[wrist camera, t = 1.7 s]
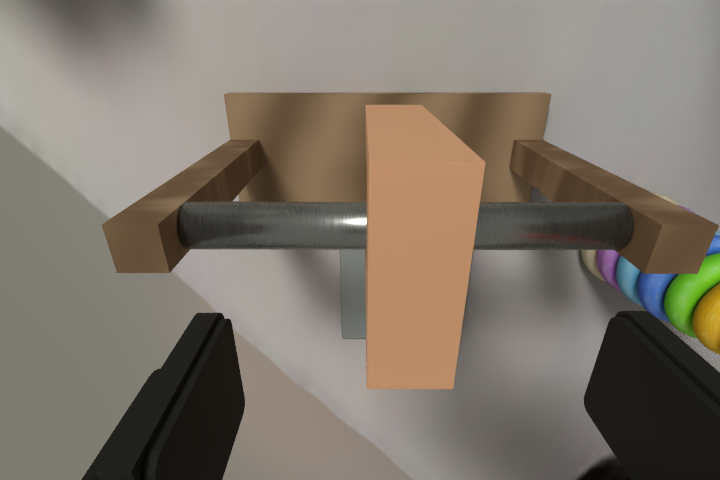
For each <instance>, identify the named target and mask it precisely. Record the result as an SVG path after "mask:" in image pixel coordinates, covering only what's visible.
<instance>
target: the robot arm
mask: <svg viewBox="0 0 720 480" xmlns="http://www.w3.org/2000/svg"><path fill="white" fill-rule="evenodd" d="M584 405H585V408H586V411H587V413H588V414H589V416H590V417H591V419H592V420H593V422H594V424H595V425H596V427H597V428H598V430H599V431H600V433H601V434H602V436H603V437H604V439H605V440H606V442H607V444H608V445H609V447H610V448H611V450H612V451H613V453H614V454H615V456H616V457H617V459H618V460H619V462H620V463H621V465H622V467H623V468H624V470H625V471H626V473H627V474H628V476H629V477H630V479H631V480H720V373H719V372H718V371H717V370H716V369H715V368H714V367H712V366H711V365H710V364H709V363H708V362H707V361H706V360H704V359H703V358H702V357H701V356H700V355H699V354H697V353H696V352H695V351H694V350H693V349H692V348H690V347H689V346H688V345H687V344H686V343H685V342H684V341H682V340H681V339H680V338H679V337H678V336H677V335H675V334H674V333H673V332H672V331H671V330H670V329H668V328H667V327H666V326H665V325H664V324H663V323H662V322H660V321H659V320H658V319H657V318H656V317H655V316H653V315H652V314H651V313H649V312H646V311H621V312H619V313H617V314H616V316H615V317H613V318H611V319H610V321H609V323H608V326H607V329H606V332H605V335H604V338H603V341H602V344H601V347H600V350H599V353H598V356H597V360H596V363H595V366H594V369H593V372H592V375H591V378H590V381H589V384H588V387H587V390H586V393H585V396H584ZM244 406H245V399H244V392H243V386H242V380H241V375H240V369H239V363H238V357H237V352H236V346H235V341H234V334H233V328H232V323H231V320H230V319H224V316H223V314H222V313H197V314H196V315H195V316H194V317H193V319H192V321H191V322H190V324H189V325H188V327H187V329H186V330H185V331H184V333H183V335H182V336H181V338H180V339H179V341H178V342H177V344H176V346H175V347H174V349H173V350H172V352H171V353H170V355H169V357H168V358H167V360H166V361H165V363H164V365H163V366H162V368H161V369H157V370H155V371H154V372H153V373H152V374H151V375H150V376H149V378H148V380H147V381H146V383H145V384H144V385H143V387H142V389H141V390H140V392H139V393H138V395H137V396H136V398H135V399H134V401H133V402H132V404H131V406H130V407H129V408H128V410H127V411H126V413H125V414H124V416H123V417H122V419H121V421H120V422H119V424H118V425H117V427H116V428H115V430H114V431H113V433H112V434H111V436H110V437H109V439H108V440H107V442H106V443H105V445H104V446H103V448H102V449H101V451H100V453H99V454H98V456H97V457H96V459H95V460H94V462H93V463H92V465H91V466H90V468H89V469H88V471H87V472H86V474H85V475H84V477H83V478H82V480H222V478H223V475H224V472H225V469H226V466H227V462H228V459H229V456H230V454H231V451H232V447H233V444H234V441H235V438H236V435H237V432H238V429H239V425H240V423H241V420H242V416H243V413H244Z"/></svg>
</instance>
